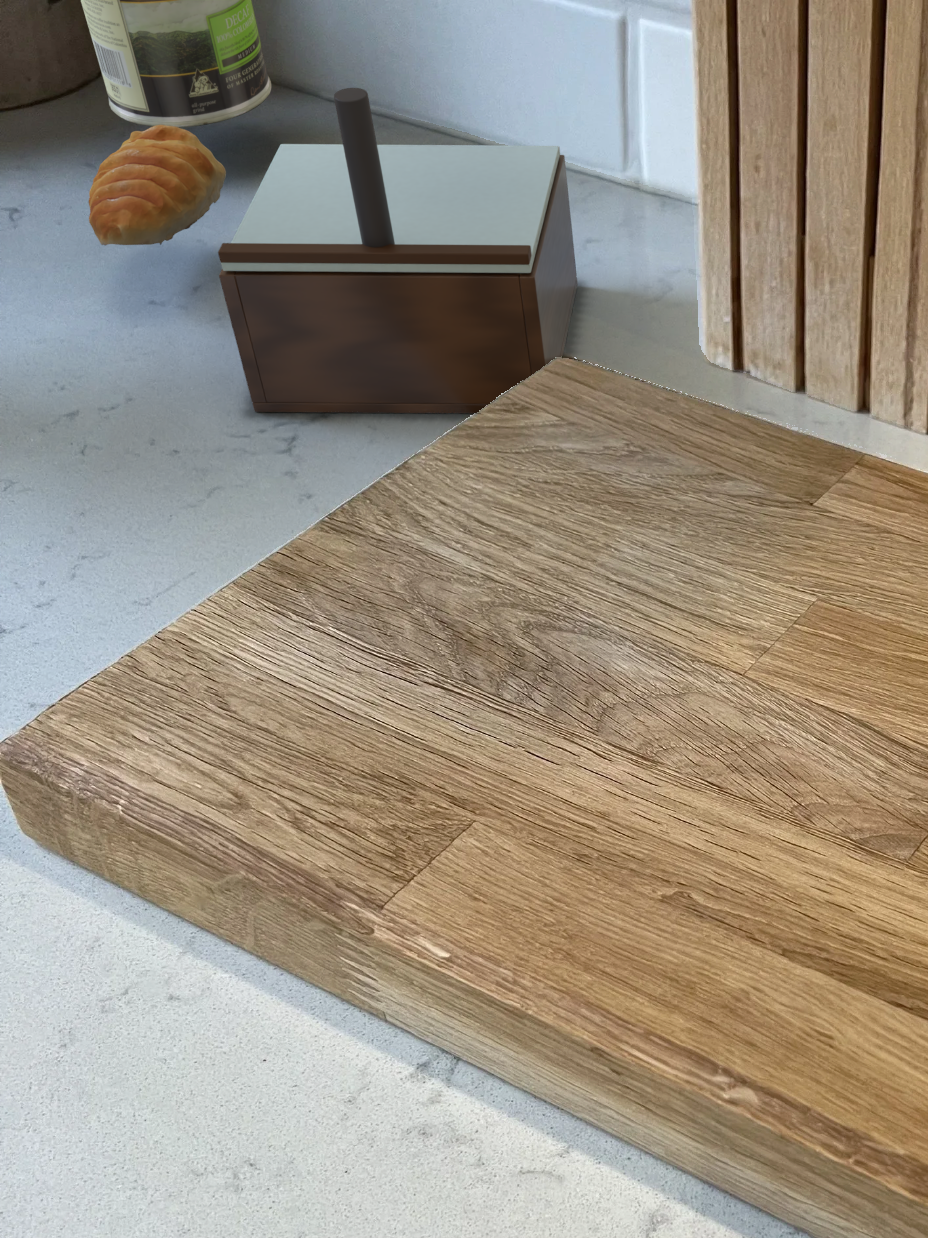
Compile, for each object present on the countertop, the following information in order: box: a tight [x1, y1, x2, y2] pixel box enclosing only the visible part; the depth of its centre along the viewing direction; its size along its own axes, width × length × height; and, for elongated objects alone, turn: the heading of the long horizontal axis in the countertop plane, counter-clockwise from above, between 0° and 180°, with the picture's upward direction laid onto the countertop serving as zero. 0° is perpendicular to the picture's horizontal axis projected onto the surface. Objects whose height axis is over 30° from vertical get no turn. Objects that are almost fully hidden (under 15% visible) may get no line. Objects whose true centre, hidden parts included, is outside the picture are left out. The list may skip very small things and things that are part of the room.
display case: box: [218, 154, 578, 414], centre depth 96 cm, size 16×14×8 cm
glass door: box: [217, 87, 561, 273], centre depth 90 cm, size 16×14×8 cm
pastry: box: [88, 125, 227, 246], centre depth 100 cm, size 9×7×4 cm
